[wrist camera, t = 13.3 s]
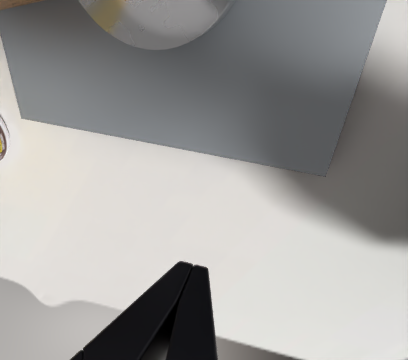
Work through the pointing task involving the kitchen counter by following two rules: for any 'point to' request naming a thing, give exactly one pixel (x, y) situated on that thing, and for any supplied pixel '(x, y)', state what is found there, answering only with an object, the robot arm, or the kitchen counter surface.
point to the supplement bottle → (4, 140)
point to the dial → (151, 19)
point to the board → (200, 78)
